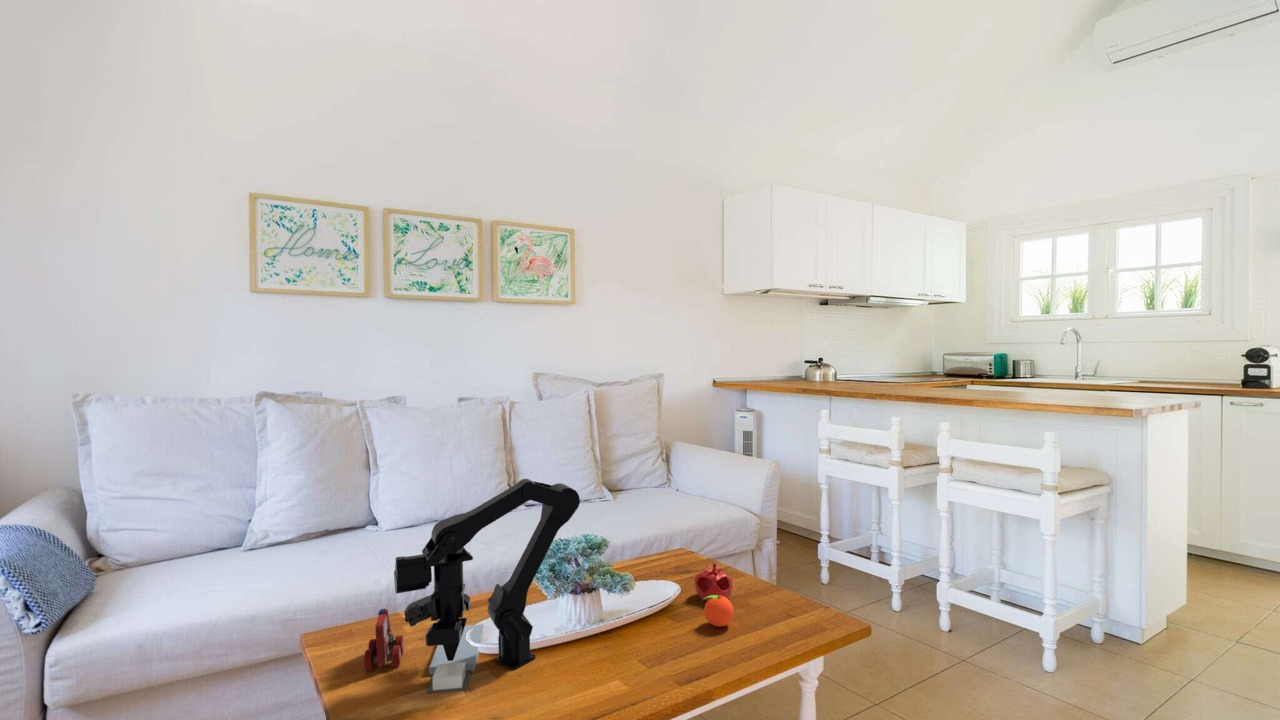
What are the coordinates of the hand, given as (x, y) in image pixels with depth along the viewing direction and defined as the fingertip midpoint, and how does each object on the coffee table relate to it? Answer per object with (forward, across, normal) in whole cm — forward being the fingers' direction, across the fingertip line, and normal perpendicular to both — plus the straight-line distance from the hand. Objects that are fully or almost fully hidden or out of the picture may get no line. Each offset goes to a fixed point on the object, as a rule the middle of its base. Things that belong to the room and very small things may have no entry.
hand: (450, 659), depth 129 cm
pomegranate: (+3, -29, +63) cm, 69 cm away
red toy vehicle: (+4, -9, -15) cm, 18 cm away
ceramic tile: (+3, +3, 0) cm, 4 cm away
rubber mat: (+3, +3, 0) cm, 4 cm away
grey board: (+3, -10, 0) cm, 11 cm away
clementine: (+3, -12, +59) cm, 61 cm away
